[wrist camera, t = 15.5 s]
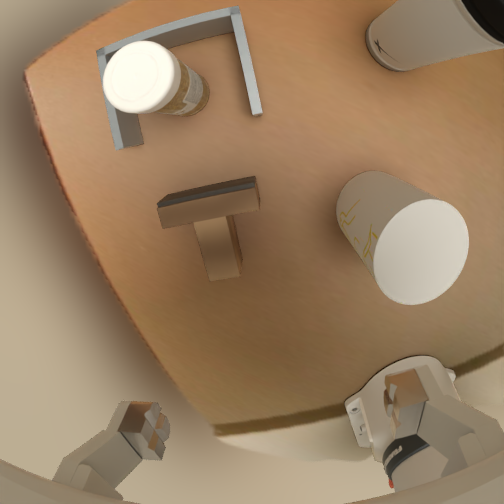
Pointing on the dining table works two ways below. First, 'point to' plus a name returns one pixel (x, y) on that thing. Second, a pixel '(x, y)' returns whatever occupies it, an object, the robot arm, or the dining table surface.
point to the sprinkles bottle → (153, 81)
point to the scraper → (213, 221)
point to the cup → (403, 236)
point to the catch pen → (170, 36)
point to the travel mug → (434, 31)
